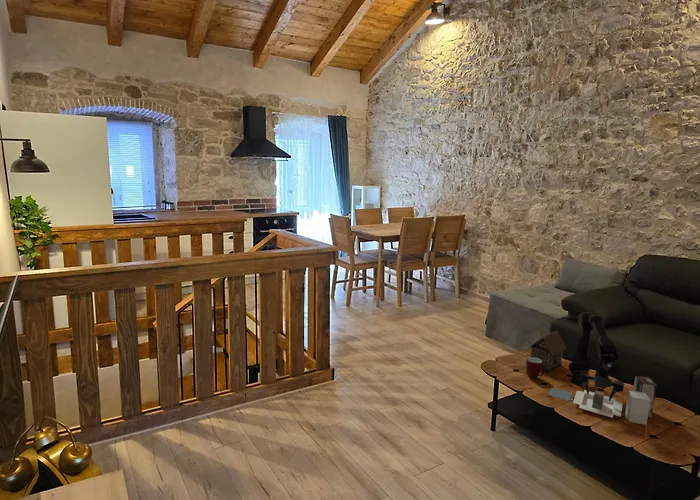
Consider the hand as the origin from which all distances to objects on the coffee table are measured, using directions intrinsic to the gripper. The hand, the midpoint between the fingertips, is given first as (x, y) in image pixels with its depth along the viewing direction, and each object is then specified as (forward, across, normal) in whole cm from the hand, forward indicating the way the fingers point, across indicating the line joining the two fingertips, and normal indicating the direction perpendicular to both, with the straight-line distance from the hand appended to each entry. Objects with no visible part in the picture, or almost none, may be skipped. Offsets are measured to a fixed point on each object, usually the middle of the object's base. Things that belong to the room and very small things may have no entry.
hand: (598, 397), depth 225 cm
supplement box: (+5, +16, -2) cm, 17 cm away
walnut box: (+4, 0, 0) cm, 5 cm away
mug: (+5, -32, +14) cm, 35 cm away
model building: (+5, -30, +35) cm, 46 cm away
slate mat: (+5, -17, +2) cm, 18 cm away
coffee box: (+5, +18, +9) cm, 21 cm away
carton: (+5, 0, 0) cm, 5 cm away
